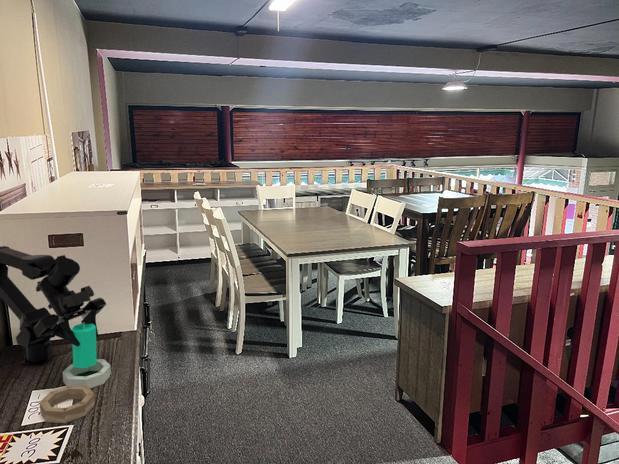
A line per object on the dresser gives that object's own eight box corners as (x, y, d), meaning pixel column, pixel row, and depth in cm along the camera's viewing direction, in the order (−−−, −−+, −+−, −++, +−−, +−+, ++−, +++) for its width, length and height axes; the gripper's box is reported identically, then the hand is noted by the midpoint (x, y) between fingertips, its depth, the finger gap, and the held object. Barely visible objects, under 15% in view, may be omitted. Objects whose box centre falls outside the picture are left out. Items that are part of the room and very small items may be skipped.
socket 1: (56, 388, 119) (55, 378, 118) (77, 367, 130) (77, 358, 129) (98, 390, 119) (97, 380, 118) (115, 369, 130) (115, 359, 129)
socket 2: (32, 421, 105) (31, 410, 105) (58, 395, 116) (57, 384, 115) (79, 423, 105) (78, 412, 105) (100, 396, 116) (100, 386, 116)
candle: (93, 368, 121) (92, 326, 119) (69, 368, 120) (68, 326, 117) (99, 357, 127) (98, 317, 124) (76, 358, 126) (75, 317, 123)
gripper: (37, 289, 112) (70, 340, 110) (100, 270, 128) (130, 315, 126) (20, 311, 117) (51, 361, 115) (82, 291, 133) (111, 334, 131)
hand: (88, 341), depth 121 cm, fingers closed on candle, 5 cm apart
